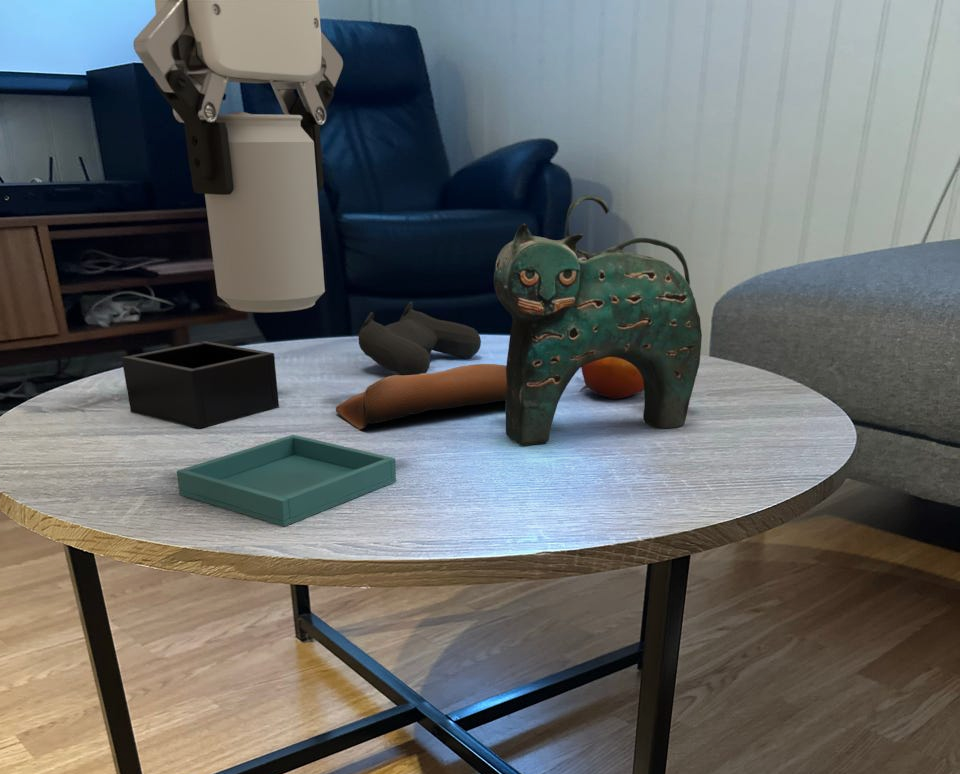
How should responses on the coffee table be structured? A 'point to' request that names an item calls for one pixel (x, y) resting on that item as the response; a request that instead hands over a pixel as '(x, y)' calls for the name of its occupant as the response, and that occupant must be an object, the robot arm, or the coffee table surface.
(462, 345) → the gaming controller
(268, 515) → the tray
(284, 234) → the can
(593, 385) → the fruit
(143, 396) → the box
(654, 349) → the ceramic cat
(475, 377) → the sunglasses case
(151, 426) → the coffee table surface
